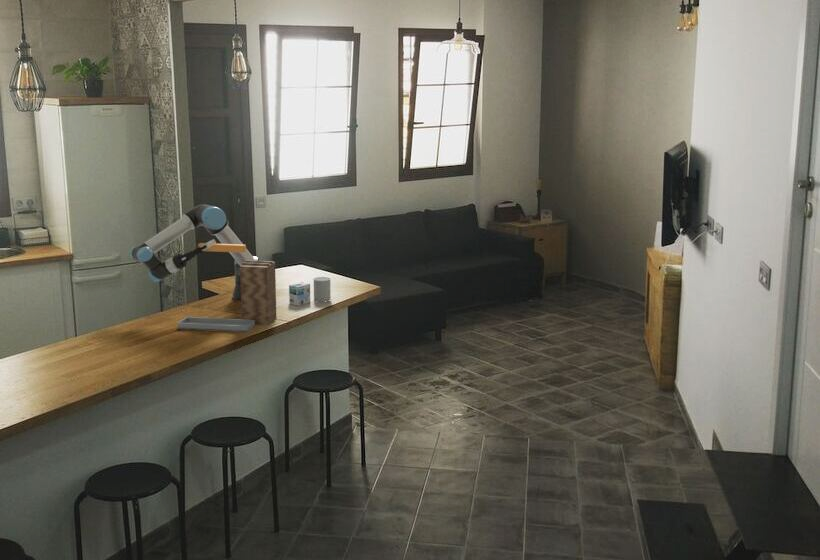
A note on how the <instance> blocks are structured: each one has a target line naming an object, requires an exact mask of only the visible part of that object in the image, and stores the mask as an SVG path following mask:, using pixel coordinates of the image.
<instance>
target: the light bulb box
mask: <svg viewBox="0 0 820 560" xmlns="http://www.w3.org/2000/svg"><path fill="white" fill-rule="evenodd" d="M288 292H289V294H288V296H289V298H288V299H289V300H288V301H289V305H295V306H297V305H298V306H301V304H302V305H305V304H309V303H311V284H310V283H308V282H304V281H300V282H296V283H293V284H289V285H288ZM308 302H309V303H308Z"/></svg>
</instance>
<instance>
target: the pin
mask: <svg viewBox="0 0 820 560" xmlns="http://www.w3.org/2000/svg"><path fill="white" fill-rule="evenodd" d="M205 243H206V242H200V243H198V244H197V248H198V247H200V246H202V245H204V244H205ZM200 248H201V247H200ZM246 249H247V245H246V244H243V243H242V244H222V243H217V244H215V243H213V246H211V247H209V248H208V249H206V250H204V251H203V252H215V253H216V252H218V253H229V252H242V253H244V252H246Z"/></svg>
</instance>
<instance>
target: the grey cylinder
mask: <svg viewBox="0 0 820 560" xmlns="http://www.w3.org/2000/svg"><path fill="white" fill-rule="evenodd" d="M312 280H313V301H314V300H315V301H318V302H317V303H326V302H325V301H329V300H331V301H332V299H331V278H330V277H324V276H321V277H320V276H319V277H315V278H313V279H312ZM315 301H314V302H315ZM329 302H330V301H329Z"/></svg>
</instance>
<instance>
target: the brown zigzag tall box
mask: <svg viewBox="0 0 820 560" xmlns="http://www.w3.org/2000/svg"><path fill="white" fill-rule="evenodd" d="M240 281H241V300H240V302H241V303H240V305H241V306H240V307H241V309H240V310H241V319H244V320H255V324H260V325H259V326H270V325H271V324H272V323H273V322H274V321H275V320H277V293H276V292H277V289H276V288H277V283H276V261H273V260H272V261H270V260H260V261H249V260H246V263H244V262H243V263H242V265H241V266H240ZM270 323H271V324H270Z"/></svg>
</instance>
